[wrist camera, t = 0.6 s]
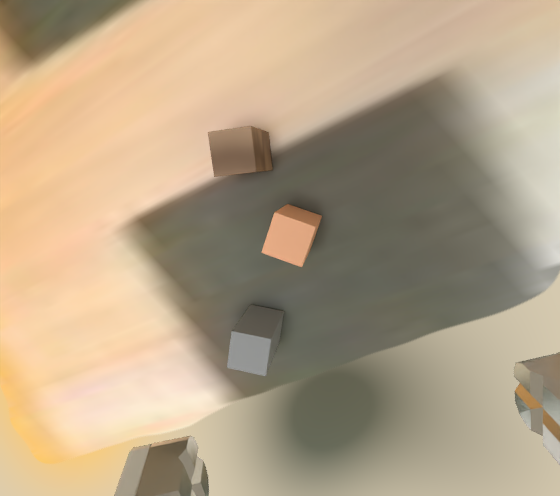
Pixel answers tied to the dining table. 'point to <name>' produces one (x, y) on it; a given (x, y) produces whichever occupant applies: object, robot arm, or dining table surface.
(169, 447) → the robot arm
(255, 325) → the charcoal bar
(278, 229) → the terracotta bar
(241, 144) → the walnut bar
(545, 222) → the dining table surface
